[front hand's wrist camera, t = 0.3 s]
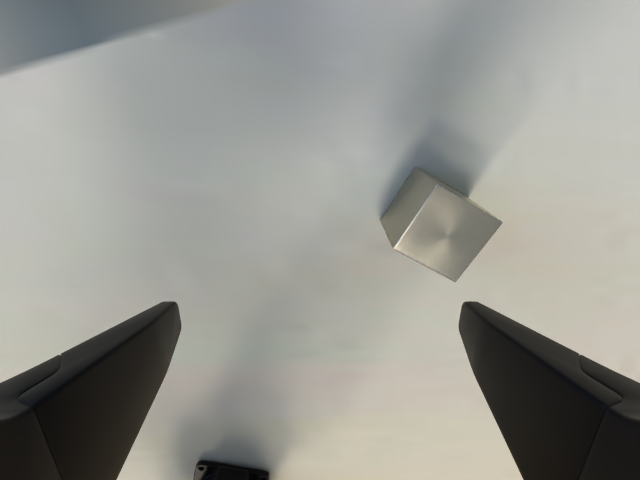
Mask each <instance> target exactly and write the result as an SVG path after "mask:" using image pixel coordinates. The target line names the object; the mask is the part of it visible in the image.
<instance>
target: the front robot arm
mask: <svg viewBox="0 0 640 480" xmlns="http://www.w3.org/2000/svg"><path fill="white" fill-rule="evenodd" d="M180 332H181V320H180V314H179V308H178V305H177V303H176V302H161V303H159V304H157V305H155V306H154V307H152V308H150V309H148V310H146V311H144V312H142V313H140V314H138V315H136V316H134V317H132V318H130V319H128V320H126V321H124V322H122V323H120V324H118V325H116V326H114V327H112V328H110V329H108V330H107V331H105V332H103V333H101V334H99V335H97V336H95V337H93V338H91V339H89V340H87V341H85V342H83V343H81V344H79V345H77V346H75V347H73V348H71V349H69V350H67V351H65V352H63V353H62V354H61V356H60V355H57V356H55V357H54V358H52V359H50V360H48V361H46V362H44V363H42V364H40V365H38V366H36V367H34V368H32V369H30V370H28V371H25V372H23V373H21V374H19V375H17V376H15V377H12V378H10V379H8V380H6V381H4V382H2V383H0V480H116V479H117V477H118V475H119V473H120V471H121V469H122V467H123V465H124V462H125V460H126V458H127V456H128V454H129V452H130V450H131V448H132V445H133V443H134V441H135V439H136V437H137V435H138V433H139V431H140V428H141V426H142V424H143V422H144V420H145V418H146V416H147V414H148V411H149V409H150V407H151V405H152V403H153V401H154V399H155V397H156V395H157V392H158V390H159V388H160V386H161V384H162V382H163V380H164V377H165V375H166V373H167V370H168V367H169V365H170V362H171V359H172V356H173V353H174V350H175V347H176V344H177V341H178V338H179V335H180ZM459 332H460V335H461V338H462V341H463V344H464V347H465V350H466V353H467V356H468V359H469V362H470V365H471V367H472V370H473V373H474V375H475V377H476V380H477V382H478V384H479V386H480V388H481V390H482V392H483V395H484V397H485V399H486V401H487V403H488V405H489V407H490V409H491V411H492V414H493V416H494V418H495V420H496V422H497V424H498V426H499V428H500V431H501V433H502V435H503V437H504V439H505V441H506V443H507V445H508V448H509V450H510V452H511V454H512V456H513V458H514V460H515V462H516V465H517V467H518V469H519V471H520V473H521V475H522V477H523V479H524V480H640V383H638V382H636V381H634V380H632V379H630V378H628V377H625V376H623V375H621V374H619V373H617V372H615V371H612V370H610V369H608V368H606V367H604V366H602V365H600V364H598V363H596V362H594V361H592V360H590V359H588V358H586V357H585V356H583V355H580V356H579V354H578V353H577V352H575V351H573V350H571V349H569V348H567V347H565V346H563V345H561V344H559V343H557V342H555V341H553V340H551V339H549V338H547V337H545V336H543V335H541V334H539V333H537V332H535V331H533V330H532V329H530V328H528V327H526V326H524V325H522V324H520V323H518V322H516V321H514V320H512V319H510V318H508V317H506V316H504V315H502V314H500V313H498V312H496V311H494V310H492V309H490V308H488V307H487V306H485V305H483V304H481V303H479V302H464V303H463V305H462V308H461V314H460V320H459ZM194 480H269V473H268V472H266V471H261V470H255V469H250V468H244V467H238V466H232V465H226V464H221V463H215V462H209V461H202V460H201V461H198V463H197V465H196V469H195V474H194Z"/></svg>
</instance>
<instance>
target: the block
mask: <svg viewBox="0 0 640 480" xmlns="http://www.w3.org/2000/svg"><path fill="white" fill-rule="evenodd" d="M380 222H381V224H382V226H383V228H384V230H385V232H386V234H387V237H388V239H389V241H390V243H391V245H392V247H393V249H394V250H396V251H398V252H400V253H402V254H404V255H405V256H407V257H409V258H411V259H413V260H415V261H417V262H419V263H420V264H422V265H424V266H426V267H428V268H430V269H432V270H433V271H435V272H437V273H439V274H441V275H443V276H445V277H447V278H448V279H450V280H452V281H454V282H456V281H457V280H458V278H459V277H460V276H461V274H462V273H463V272H464V271H465V269H466V268H467V267H468V266H469V264H470V263H471V262H472V261H473V259H474V258H475V257H476V256H477V254H478V253H479V252H480V251H481V249H482V248H483V247H484V245H485V244H486V243H487V242H488V240H489V239H490V238H491V237H492V235H493V234H494V233H495V232H496V230H497V229H498V228H499V227H500V225H501V224H502V221H500V220H499V219H497V218H496V217H495V216H493V215H492V214H490V213H489V212H487V211H486V210H485V209H483V208H482V207H480V206H479V205H478V204H476V203H475V202H473V201H472V200H471V199H469V198H468V197H466V196H464V195H463V194H461V193H459V192H457V191H456V190H454V189H452V188H451V187H449V186H447V185H446V184H444V183H442V182H441V181H439V180H437V179H436V178H434V177H432V176H430V175H429V174H427V173H425V172H424V171H422V170H420V169H419V168H417V167H415V168H414V169H413V171H412V172H411V174H410V175H409V177H408V178H407V180H406V181H405V183H404V184H403V186H402V188H401V189H400V191H399V192H398V194H397V195H396V197H395V198H394V200H393V201H392V203H391V204H390V206H389V207H388V209H387V210H386V212H385V213H384V215H383V216H382V218H381V220H380Z"/></svg>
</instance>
